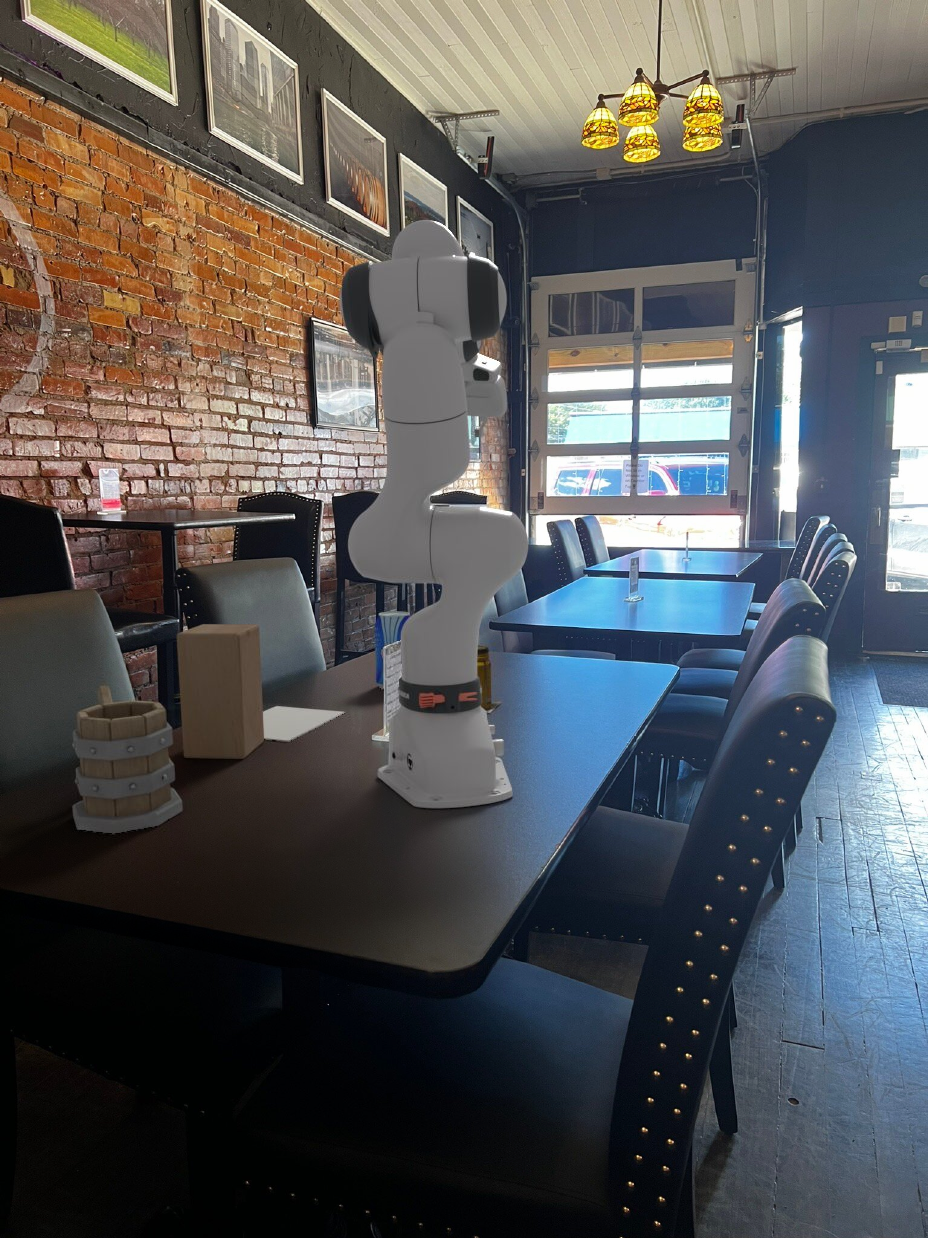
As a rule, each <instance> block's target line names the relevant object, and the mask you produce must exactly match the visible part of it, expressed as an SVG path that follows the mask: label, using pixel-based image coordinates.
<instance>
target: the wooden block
mask: <svg viewBox="0 0 928 1238" xmlns="http://www.w3.org/2000/svg"><path fill="white" fill-rule="evenodd" d="M260 638H261V637H260V626H259V624H256V623H255V624H252V623H251V624H249V623H248V624H242V623H240V624H239V623H238V624H237V623H236V624H235V623H233V624H232V623H228V624H227V623H226V624H225V623H224V624H221V623H217V624H214V623H213V624H211V623H209V624H205V623H203V624H200V625H198V626H194V627H192V628H189V629H187V630H184V631H181V632H179V633H177V634H176V647H177V662H178V677H179V678H178V679H179V699H180V712H181V713H180V714H181V715H180V716H181V729H182V731H181V733H182V745H183V746H182V747H183V757H184V758H187V759H213V760H214V759H215V760H216V759H217V760H218V759H221V760H223V759H225V760H226V759H227V760H244V759H246V757H248V756H249V755H250V754H252V753H253V752H254V751H255V750H256V749H257V748H258V747H259V746H260V745H262V744H263V743H264V741H265V740H264V724H263V712H264V708H263V707H264V706H263V705H264V703H263V686H262V668H261V667H262V664H261V663H262V662H261V661H262V660H261V659H262V658H261V641H260Z"/></svg>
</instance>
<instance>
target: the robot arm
mask: <svg viewBox="0 0 928 1238" xmlns="http://www.w3.org/2000/svg"><path fill="white" fill-rule="evenodd" d="M391 251H392V252H391V259H388V260H384V261H379V262H375V263H373V261H371V260H370V261H367V262H363V263H359V264H355V265H353V266H351V267H349V268H348V269H347V270H346V273H345V274H344V276H343V277H342V281H341V287H340V293H339V303H338V305H339V311H340V314H341V315H340V316H341V319H342V320H343V324H344V326H345V329H346V330H347V333H348V335H349V336H350V337H351V339H353V340H354V341H355V342H356V343H357V345H359V346H360V347H362V348H365V349H367V350H368V351H369V353H370V355H371V357H372V358H375V359H378V357H379V353H380V355H381V356H382V363H381V365H382V366H381V400H382V412H383V420H384V431H385V441H386V443H385V444H386V473H385V480H384V482H383V485H382V488H381V490H380V492H379V494H378V496H377V498H376V499H375V500H374V502H373V503H372V504H371V505H370V506H369V507H368V508H367V509H366V510H364V511H363V512H362V513H361V514H360V515H358V517H356V519H355V520H354V523H353V524H352V526H351V527H350V530H349V534H348V540H347V549H348V554H349V559H350V560H351V563H352V565H353V566H354V568H355V570H356V571H357V573H358V574H360V575H361V576H362V577H363V578H366V579H367V578H368V579H372V580H375V581H380V582H386V583H391V584H437V585H441V594H440V598H439V600H438V601H437V602H435V603H433V604H431V605H428V606H426V607H424V608H421V609H420V610H419V611H417V612H415V613H413V614H412V615H411V616H410V618H408V620H407V621H406V622H405V624H404V625H403V628H402V631H401V664H402V677H401V678H400V679H399V687H398V691H397V693H398V702H399V704H400V705H399V708H398V710H397V711H396V713H395V714H393V716H391V718H390V719H389V722H388V723H389V724H388V725H389V727H388V729H389V730H388V764H386V765H383V766H381V767H379V768H378V769H377V777H378V778H379V779H380V780H382V782H384V783H385V784H386V785H387V786H389V788H391V790H394V791H395V793H397V794H398V795H399V796H400V797H402V798H403V799H404V800H406V801H407V802H408V803H409V804H411V805H412V806H413V807H414V808H415V807H416V808H423V809H424V808H425V809H450V808H452V809H453V808H464V807H465V808H466V807H471V806H473V807H474V806H480V805H481V806H482V805H486V804H487V805H488V804H493V803H497V802H502V801H504V800H508V799H510V798H512V797H514V795H513V788H512V785H511V782H510V779H509V776H508V774H507V770H506V768H505V766H504V762H503V760H502V757H501V756H503V755H504V754H505V743H504V739H500V738H495V739H493V737H492V735H495V734H496V725H495V724H489V721H488V713H487V711H485V710H484V709H483V708H482V707H481V704H482V688H481V685H480V678H479V677H478V676H477V651H478V646H479V636H480V635H479V633H480V628H481V623H482V619H483V617H484V614H485V611H486V610H487V607H488V605H489V603H490V602H491V600H492V599H493V598H494V596H495V595H496V593H497V592H498V591H499V590H501V588H502V587H504V585H506V583H508V582H509V581H511V580H512V579H513V578H514V577H515V576H517V575H518V573H520V571H521V569H522V568H523V567H524V564H525V563H526V560H527V558H528V557H527V556H528V552H529V539H528V535H527V530H526V527H525V525H524V524H523V522H522V521H521V520H520V518H519V517H518V515H517V514H516V513H515V512H513V511H509V510H505V509H500V508H494V507H489V506H484V505H483V506H482V505H481V506H480V505H476V506H474V505H469V506H468V505H465V506H464V505H463V506H460V505H459V506H458V505H457V506H453V505H452V506H446V505H445V506H437V505H433V504H432V502H431V496H432V495H434V494H435V493H437V492H439V491H440V490H442V489H445V488H447V487H448V486H450V485H452V484H453V483H455V482H456V481H457V480H459V479H460V478H461V477H462V476H463V475H464V474H465V473H466V471H467V469H468V468H469V465H470V462H471V451H470V450H471V449H470V448H471V447H470V433H469V432H470V431H469V418H468V417H479V422H481V424H480V426H479V425H476V426H475V428H474V431H473V432H474V438H478V439H479V438H481V439H482V438H483V437H484V428H485V426H486V424H487V423H488V421H489V419H490V418H494V419H501V418H502V417H503V416H505V414H506V412H507V409H508V395H507V387H506V383H505V379H504V378H503V377H502V376H501V372H502V368H503V367H502V366H503V365H502V363H501V362H500V361H497V360H495V359H492V358H489V357H487V356H485V355H482V354H480V351H482V348H483V340H486V339H490V338H492V337H495V335H497V334H498V332H499V330H500V329H501V327H502V326H501V324H502V322H503V319H504V317H505V314H506V311H507V296H508V295H507V291H506V285H505V282H504V280H503V277H502V275H501V274H500V272H499V267H498V266H497V265H496V264H495V263H493V261H491V260H490V259H488V258H485V257H482V256H477V255H476V253H475V252H471V251H470V253H469V254H464V253H465V252H464V250H463V249H462V246H461V245H460V243H459V241H458V239H457V238H456V237H455V236H454V234H453V233H452V232H451V230H450V229H448V228H447V226H445V225H443V224H442V223H440V222H438V221H434V220H431V219H430V220H429V219H422V220H421V219H420V220H417V221H414V222H411V223H410V224H408V225H406V226H405V227H404V228H403V229H402V230H400V232H399V233H398V235H397V236H396V237H395V240H394V243H393V246H392V250H391ZM498 756H500V757H501V758H500V757H498Z"/></svg>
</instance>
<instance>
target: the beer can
mask: <svg viewBox="0 0 928 1238" xmlns="http://www.w3.org/2000/svg"><path fill="white" fill-rule="evenodd" d="M410 614H411V613H410V612H407V611H396V610H395V611H383V612H379V613H378V617H377V619H376V621H375V623H374V650H375V651H374V652H375V653H374V655H375V659H374V660H375V661H374V662H375V682H376V684H377V685H378V687H379V689H380V688H381V690H383V658H382V655H381V650H382V649H383V647H384V646H385V645H387V644H391V643H393V642H396V641H400V640H401V631H402V628H403V625H404V624H405V622H406V621H407V620H408V618H410V617H411V616H410ZM383 691H384V690H383Z"/></svg>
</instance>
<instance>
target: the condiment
mask: <svg viewBox="0 0 928 1238" xmlns="http://www.w3.org/2000/svg"><path fill="white" fill-rule="evenodd" d="M489 651H490V649H489V646H485V645H479V644H478V651H477V676H478V677H479V678H480V685H481V688H482V704H481V707H482V708H483V709H484V710H485V711H487V714H491V713H492V712H493V711H494V710H495V709H496V708H497V707H498V706H499V705H501V703H502V701H492V662H491V660H490V654H489Z"/></svg>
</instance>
